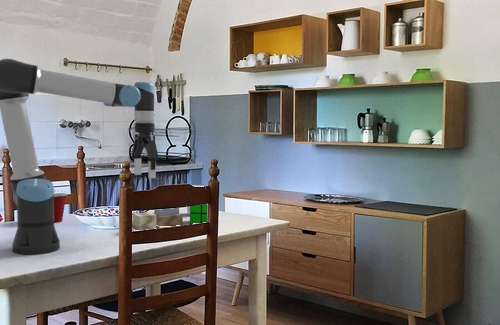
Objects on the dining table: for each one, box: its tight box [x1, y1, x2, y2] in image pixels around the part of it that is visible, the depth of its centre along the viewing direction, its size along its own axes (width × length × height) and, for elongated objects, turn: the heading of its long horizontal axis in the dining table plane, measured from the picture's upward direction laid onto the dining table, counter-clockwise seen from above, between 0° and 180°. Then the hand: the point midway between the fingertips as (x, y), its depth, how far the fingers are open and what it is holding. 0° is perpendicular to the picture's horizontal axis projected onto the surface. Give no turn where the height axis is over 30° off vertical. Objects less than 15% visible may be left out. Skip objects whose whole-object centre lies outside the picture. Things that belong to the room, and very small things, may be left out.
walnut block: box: [152, 212, 183, 226], centre depth 234 cm, size 10×10×5 cm
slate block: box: [153, 207, 180, 216], centre depth 233 cm, size 9×5×4 cm, turn 124°
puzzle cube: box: [189, 204, 207, 225], centre depth 240 cm, size 10×10×10 cm
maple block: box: [132, 211, 157, 230], centre depth 220 cm, size 7×7×7 cm
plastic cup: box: [54, 192, 68, 224], centre depth 237 cm, size 11×11×12 cm
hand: (144, 176), depth 219 cm, fingers open, 13 cm apart
